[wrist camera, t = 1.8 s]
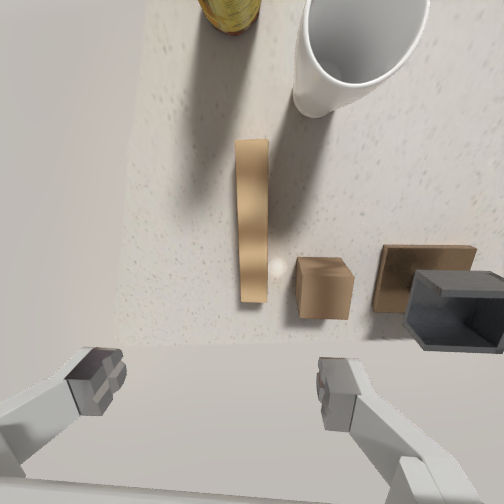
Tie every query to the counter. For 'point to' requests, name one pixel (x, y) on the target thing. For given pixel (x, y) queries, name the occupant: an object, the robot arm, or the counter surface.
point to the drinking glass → (352, 49)
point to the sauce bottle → (231, 14)
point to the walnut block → (323, 288)
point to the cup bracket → (442, 297)
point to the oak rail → (252, 217)
